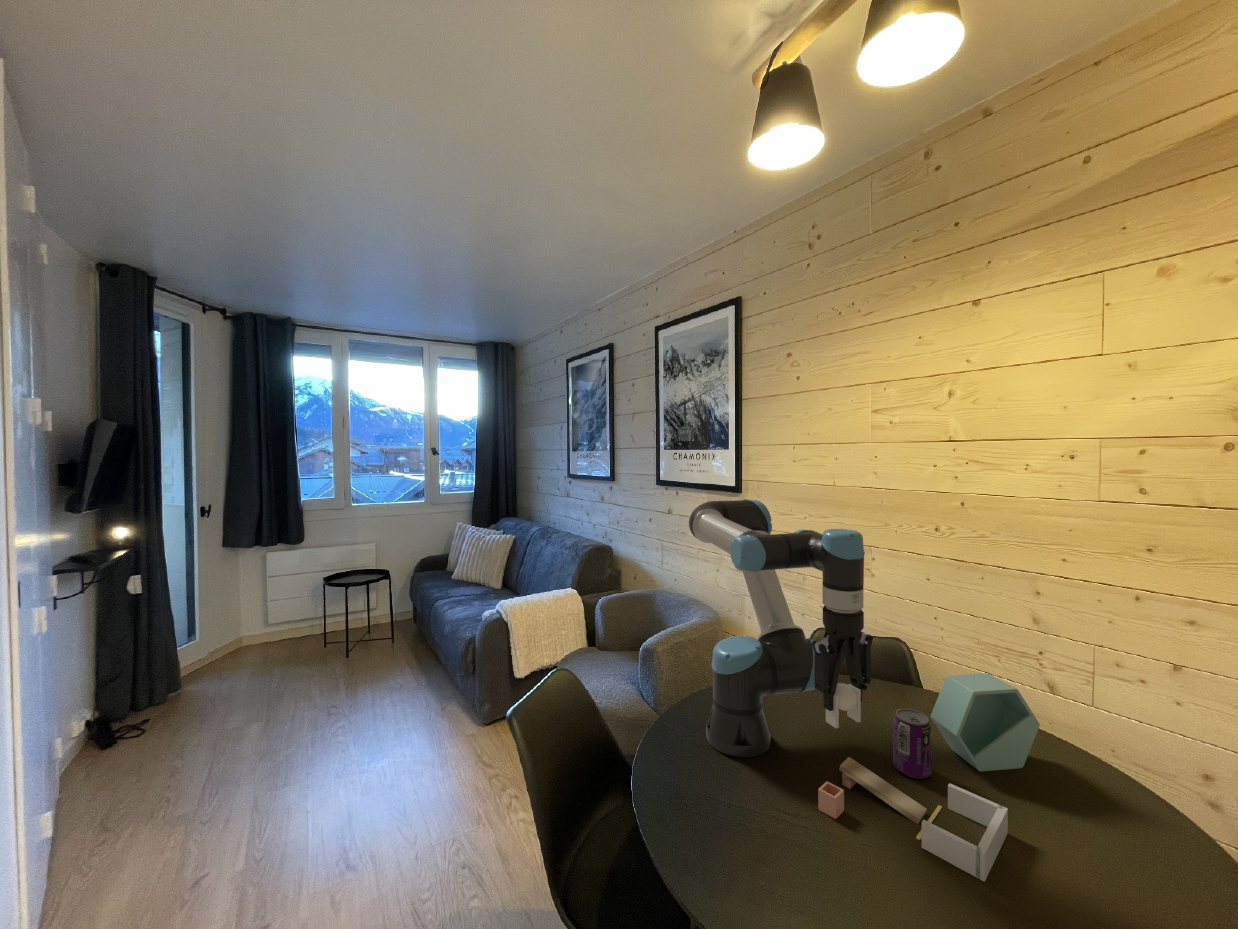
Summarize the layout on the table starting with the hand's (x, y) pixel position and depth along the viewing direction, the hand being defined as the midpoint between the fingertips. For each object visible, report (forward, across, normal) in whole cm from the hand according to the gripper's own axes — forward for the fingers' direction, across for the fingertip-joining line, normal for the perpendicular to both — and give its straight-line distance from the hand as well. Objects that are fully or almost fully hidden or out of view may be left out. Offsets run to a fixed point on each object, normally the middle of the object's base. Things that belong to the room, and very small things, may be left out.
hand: (843, 721), depth 98 cm
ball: (-5, 0, 0) cm, 5 cm away
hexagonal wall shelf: (+15, +37, -3) cm, 40 cm away
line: (+15, +9, -12) cm, 21 cm away
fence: (+15, +11, -17) cm, 25 cm away
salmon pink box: (+15, -6, -3) cm, 16 cm away
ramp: (+15, +6, -4) cm, 16 cm away
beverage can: (+15, +19, 0) cm, 24 cm away
